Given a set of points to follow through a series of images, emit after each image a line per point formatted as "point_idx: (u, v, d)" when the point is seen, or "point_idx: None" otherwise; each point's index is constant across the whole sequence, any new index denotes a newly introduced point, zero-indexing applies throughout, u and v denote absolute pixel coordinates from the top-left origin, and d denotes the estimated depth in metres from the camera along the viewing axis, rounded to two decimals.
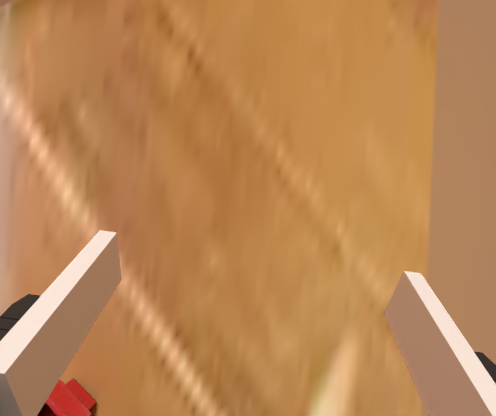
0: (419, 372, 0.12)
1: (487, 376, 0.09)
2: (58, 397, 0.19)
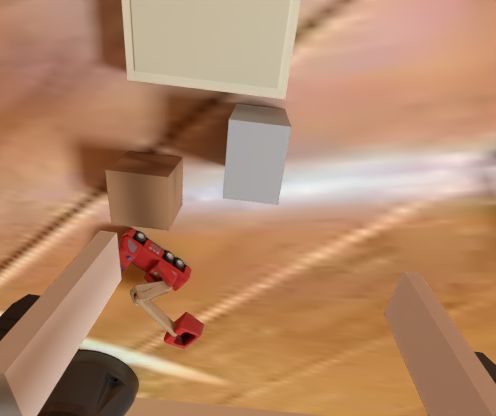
0: (419, 372, 0.12)
1: (487, 376, 0.09)
2: None
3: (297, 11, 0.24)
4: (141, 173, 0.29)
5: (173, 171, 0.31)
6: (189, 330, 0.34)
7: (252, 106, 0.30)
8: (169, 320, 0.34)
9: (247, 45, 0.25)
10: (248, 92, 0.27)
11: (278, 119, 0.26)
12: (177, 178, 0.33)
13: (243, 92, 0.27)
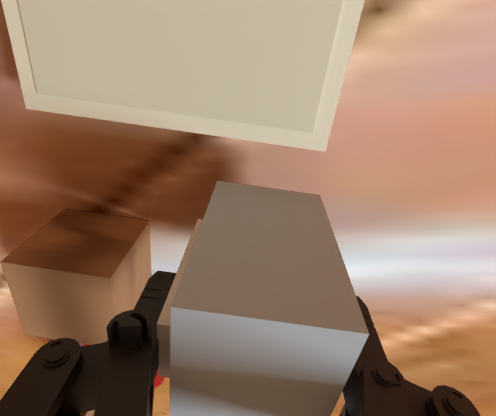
0: None
1: None
2: None
3: None
4: (63, 270, 0.16)
5: (126, 257, 0.18)
6: None
7: (250, 191, 0.14)
8: None
9: (256, 47, 0.12)
10: (255, 137, 0.14)
11: (318, 268, 0.10)
12: (137, 259, 0.20)
13: (246, 137, 0.14)
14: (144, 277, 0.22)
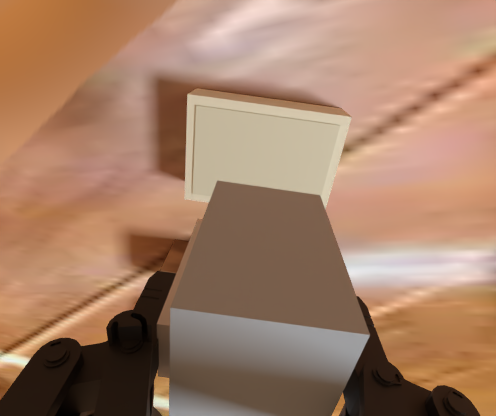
0: None
1: None
2: None
3: (339, 155, 0.27)
4: None
5: None
6: None
7: (250, 191, 0.14)
8: None
9: (293, 178, 0.28)
10: None
11: (318, 268, 0.10)
12: None
13: None
14: None
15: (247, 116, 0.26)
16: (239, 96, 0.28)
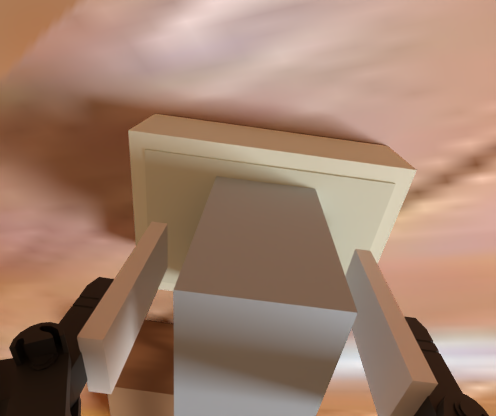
0: (361, 337, 0.13)
1: (410, 334, 0.10)
2: None
3: (389, 229, 0.16)
4: (154, 391, 0.21)
5: None
6: None
7: (248, 186, 0.14)
8: None
9: None
10: None
11: (312, 255, 0.10)
12: None
13: None
14: None
15: (233, 167, 0.15)
16: (222, 129, 0.17)
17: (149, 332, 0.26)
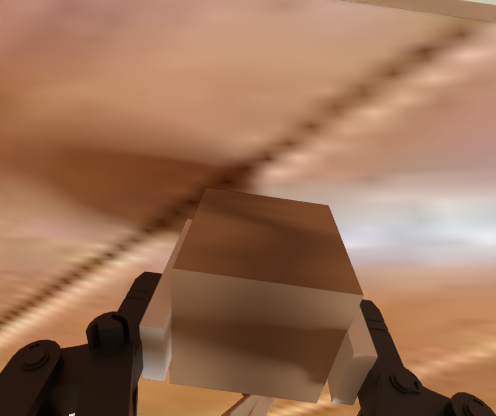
0: None
1: (359, 313, 0.11)
2: None
3: None
4: (281, 283, 0.09)
5: None
6: None
7: None
8: None
9: None
10: None
11: None
12: None
13: None
14: None
15: None
16: None
17: (233, 203, 0.13)
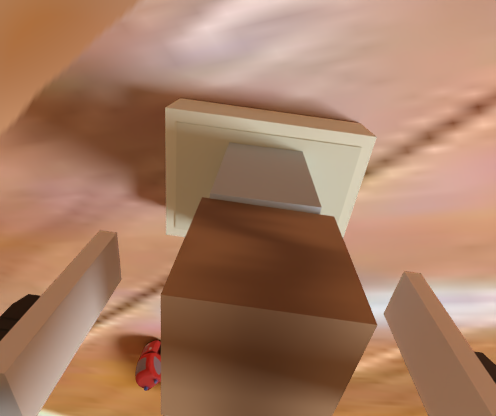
0: (419, 372, 0.12)
1: (487, 376, 0.09)
2: None
3: (359, 184, 0.22)
4: (285, 310, 0.08)
5: None
6: None
7: (253, 148, 0.20)
8: None
9: None
10: None
11: (296, 183, 0.15)
12: None
13: None
14: None
15: (242, 135, 0.20)
16: (233, 109, 0.22)
17: (231, 215, 0.12)
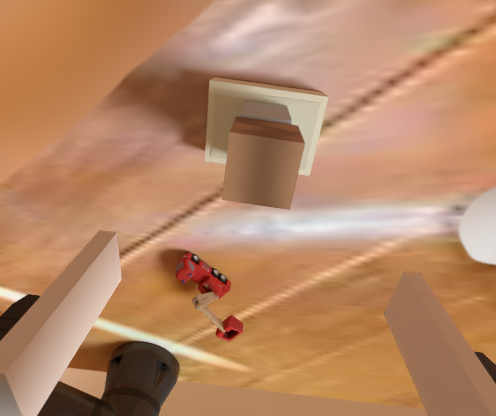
0: (419, 372, 0.12)
1: (487, 376, 0.09)
2: None
3: (320, 126, 0.37)
4: (272, 138, 0.24)
5: None
6: (235, 328, 0.47)
7: (259, 103, 0.35)
8: (220, 320, 0.48)
9: None
10: None
11: (281, 114, 0.31)
12: None
13: None
14: None
15: (252, 96, 0.36)
16: (246, 82, 0.37)
17: (250, 121, 0.28)
